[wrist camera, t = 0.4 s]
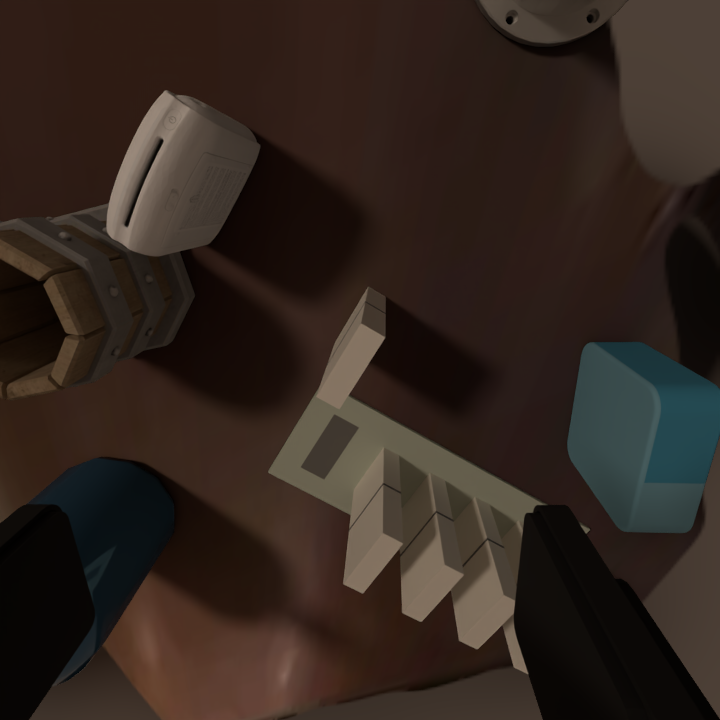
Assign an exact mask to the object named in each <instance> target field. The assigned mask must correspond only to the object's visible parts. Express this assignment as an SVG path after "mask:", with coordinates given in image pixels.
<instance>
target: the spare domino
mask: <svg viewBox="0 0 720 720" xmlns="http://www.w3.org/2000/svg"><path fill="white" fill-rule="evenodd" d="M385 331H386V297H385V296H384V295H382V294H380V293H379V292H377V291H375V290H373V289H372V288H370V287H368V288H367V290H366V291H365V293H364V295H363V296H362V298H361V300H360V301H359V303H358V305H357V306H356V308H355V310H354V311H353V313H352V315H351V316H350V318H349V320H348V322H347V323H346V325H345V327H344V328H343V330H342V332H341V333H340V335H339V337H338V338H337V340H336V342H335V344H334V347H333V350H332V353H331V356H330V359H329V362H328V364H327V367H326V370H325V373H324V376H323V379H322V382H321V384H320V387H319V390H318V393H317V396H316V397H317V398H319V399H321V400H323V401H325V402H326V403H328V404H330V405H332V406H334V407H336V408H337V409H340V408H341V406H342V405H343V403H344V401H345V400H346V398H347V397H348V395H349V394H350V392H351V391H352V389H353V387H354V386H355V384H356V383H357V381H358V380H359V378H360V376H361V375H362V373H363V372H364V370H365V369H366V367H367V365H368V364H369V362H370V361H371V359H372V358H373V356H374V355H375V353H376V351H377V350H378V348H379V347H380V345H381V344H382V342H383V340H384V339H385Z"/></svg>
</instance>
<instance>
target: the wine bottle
mask: <svg viewBox="0 0 720 720" xmlns="http://www.w3.org/2000/svg"><path fill="white" fill-rule="evenodd" d="M27 504H54V505H58V506H59V507H60V508H61V510H62V512H65V513H66V514H67V515H68V517H69V520H70V524H71V527H72V531H73V534H74V538H75V541H76V545H77V548H78V552H79V555H80V559H81V562H82V566H83V569H84V573H85V576H86V580H87V583H88V587H89V590H90V594H91V597H92V601H93V604H94V608H95V619H94V623H93V625H92V628H91V630H90V631H89V633H88V634H87V636H86V637H85V639H84V640H83V642H82V643H81V644H80V646H79V647H78V649H77V650H76V652H75V653H74V655H73V656H72V658H71V659H70V660H69V662H68V663H67V665H66V666H65V668H64V669H63V671H62V672H61V674H60V675H59V677H58V678H57V679H56V681H55V682H54V684H53V685H52V686H56V685H59V684H61V683H64V682H66V681H68V680H70V679H71V678H72V677H74V676H75V675H77V674H78V673H79V672H80V671H82V670H83V669H84V668H85V667H86V665H87V664H88V663H89V662H90V660H91V659H92V658H93V657H94V655H95V654H96V653H97V651H98V650H99V649H100V648H101V647H102V645H103V644H104V642H105V641H106V639H107V638H108V636H109V635H110V633H111V632H112V630H113V628H114V627H115V625H116V624H117V622H118V620H119V619H120V617H121V616H122V614H123V612H124V611H125V609H126V608H127V606H128V605H129V603H130V601H131V600H132V598H133V597H134V595H135V593H136V592H137V590H138V589H139V587H140V586H141V584H142V582H143V581H144V579H145V578H146V576H147V574H148V573H149V571H150V570H151V568H152V566H153V565H154V563H155V562H156V560H157V559H158V557H159V555H160V554H161V552H162V551H163V549H164V547H165V546H166V544H167V543H168V541H169V540H170V538H171V536H172V535H173V533H174V528H175V519H174V500H173V499H172V497H171V496H170V494H169V493H168V491H167V490H166V488H165V487H164V485H163V484H162V482H161V481H160V479H159V478H158V477H156V476H155V475H153V474H152V473H150V472H148V471H147V470H145V469H143V468H142V467H140V466H139V465H137V464H135V463H134V462H132V461H127V460H120V459H113V458H106V457H99V458H95V459H92V460H90V461H87V462H84V463H82V464H79V465H76V466H74V467H71V468H68V469H67V470H66V471H65V472H64V473H62V474H61V475H60V476H59V477H58V478H57V479H55V480H54V481H53V482H52V483H51V484H50V485H48V486H47V487H46V488H45V489H44V490H43V491H41V492H40V493H39V494H38V495H37V496H36V497H34V498H33V499H32V500H31V501H30V502H29V503H27ZM27 504H26V505H27Z"/></svg>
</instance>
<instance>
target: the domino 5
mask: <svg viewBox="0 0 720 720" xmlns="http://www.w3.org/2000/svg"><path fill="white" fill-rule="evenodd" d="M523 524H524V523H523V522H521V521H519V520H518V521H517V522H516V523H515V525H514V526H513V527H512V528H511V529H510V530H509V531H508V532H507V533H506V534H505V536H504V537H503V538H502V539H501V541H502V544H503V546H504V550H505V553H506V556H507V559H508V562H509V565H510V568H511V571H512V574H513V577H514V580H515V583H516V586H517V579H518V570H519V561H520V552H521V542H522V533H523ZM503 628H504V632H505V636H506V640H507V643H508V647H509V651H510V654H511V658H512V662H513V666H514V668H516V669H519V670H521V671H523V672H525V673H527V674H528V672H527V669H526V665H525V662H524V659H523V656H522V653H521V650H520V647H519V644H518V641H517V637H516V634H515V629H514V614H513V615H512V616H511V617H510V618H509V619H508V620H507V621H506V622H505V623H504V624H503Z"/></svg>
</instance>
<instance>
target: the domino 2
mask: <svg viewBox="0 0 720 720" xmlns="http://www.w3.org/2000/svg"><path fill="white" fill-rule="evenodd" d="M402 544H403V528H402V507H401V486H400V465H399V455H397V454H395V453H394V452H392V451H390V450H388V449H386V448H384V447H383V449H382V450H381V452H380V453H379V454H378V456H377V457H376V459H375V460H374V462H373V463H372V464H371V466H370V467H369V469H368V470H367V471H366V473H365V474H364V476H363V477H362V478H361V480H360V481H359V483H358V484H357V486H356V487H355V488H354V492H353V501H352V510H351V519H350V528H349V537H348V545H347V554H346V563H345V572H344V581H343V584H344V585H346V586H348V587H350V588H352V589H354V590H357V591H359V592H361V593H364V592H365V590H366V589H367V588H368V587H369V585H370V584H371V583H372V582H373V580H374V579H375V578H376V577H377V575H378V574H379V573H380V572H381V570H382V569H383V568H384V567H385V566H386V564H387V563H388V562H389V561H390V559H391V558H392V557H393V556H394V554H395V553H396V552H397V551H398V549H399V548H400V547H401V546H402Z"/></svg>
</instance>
